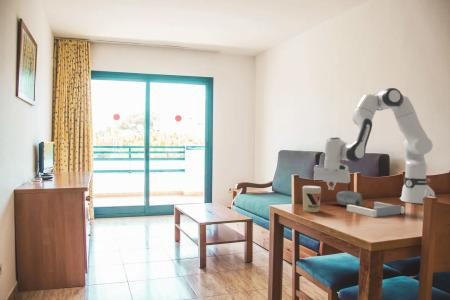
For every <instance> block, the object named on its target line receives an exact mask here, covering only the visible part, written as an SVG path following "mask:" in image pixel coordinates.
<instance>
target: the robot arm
mask: <svg viewBox="0 0 450 300" xmlns="http://www.w3.org/2000/svg"><path fill="white" fill-rule="evenodd" d="M389 109H390V110H391V111H392V112H393V116H394V118H395V120H396V123H397V126H398V129H399V131H400V132H401V133H402V134H403V136H404V138H405V139H404V140H403V141H402V149H403V155H404V161H405V163H404V164H405V173H404V179H403V183H404V184H403V186H402V189H401V190H402V191H401V196H400V197H399V200H400V201H402V202H405V203H411V204H421V205H423V198H424V197H425V196H434V197H436V194H435V191H434V190H433V189H432V187H430V186H429V184H428V183H431V178H427V163H426V159H425V155H426V154H428V153H430V152H432V149H433V147H434V145H433V142H432V140H431V139H430V138H429V136H428V135H427V133H426V131H425V129H424V128H423V126H422V125H421V122H420V120H419V118H418V115H417V112H416V110H415V108H414V106H413V104H412V101H411V100H410V99H409V97H407V96H404V95H403V94H402V93H401V91H400V90H399V89H397V88H394V87H389V88H386V89H382V90H381V91H379V92H377V93H375V94H371V93H365V94H364V95H363V96H361V98H360V99H359V101H358V103H357V104H356V107H355V109H354V111H353V113H352V116H351V117H352V121H353V124H355V125H356V126H357V127H358V132H357V136H356V139H355V141H354V142H353V143H348V142H345V141H344V140H343V139H341V138H340V137H338V136H336V137H329V138H327V139H326V141H325V145H324V155H325V157H324V161H323V162H324V164H316V165H314V166H313V180H314V181H315V180H323V181H322V182H326V185H327V187H328V188H327V189H328V190H329V191H335V186H336V185H337V183H341V184H349V183H351V173H350V171H349V166H348V165H347V164H344V163H341V160H342V161H347V162H353V163H360V162H362V161H363V159H364V158H365V156H366V149H367V144H368V142H369V138H370V135H371V132H372V128H373V122H372V121H373V118H374V116H375V114H376V112H377V111H383V110H389ZM330 183H332V184H333V185H332V186H330Z"/></svg>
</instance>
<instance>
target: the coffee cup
mask: <svg viewBox="0 0 450 300" xmlns="http://www.w3.org/2000/svg"><path fill="white" fill-rule="evenodd" d="M321 195H322V186H318V185H317V186H316V185H303V186H302V209H303V210H302V211H304V212H308V213H317V212H319V211H320V204H321Z"/></svg>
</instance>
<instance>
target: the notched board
mask: <svg viewBox="0 0 450 300" xmlns="http://www.w3.org/2000/svg"><path fill="white" fill-rule="evenodd" d="M346 212H350V213H354V214H359V215H362V216H366V217H371V218H377V217H384V216H393V215H400V213H401V214H405V207H404V206H402V205H400V204H392V203H385V202H380V201H374V206H373V208H368V207H363V206H360V207H359V206H355V205H347V206H346Z"/></svg>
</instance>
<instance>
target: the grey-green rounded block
mask: <svg viewBox="0 0 450 300" xmlns="http://www.w3.org/2000/svg"><path fill="white" fill-rule="evenodd" d="M336 202H337V204H338V205H340V206H344V207H347V205H355V206H359V207H362V205H363V196H362V194H361V193H360V192H357V191H353V190H341V191H338V192H337V193H336Z"/></svg>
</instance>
